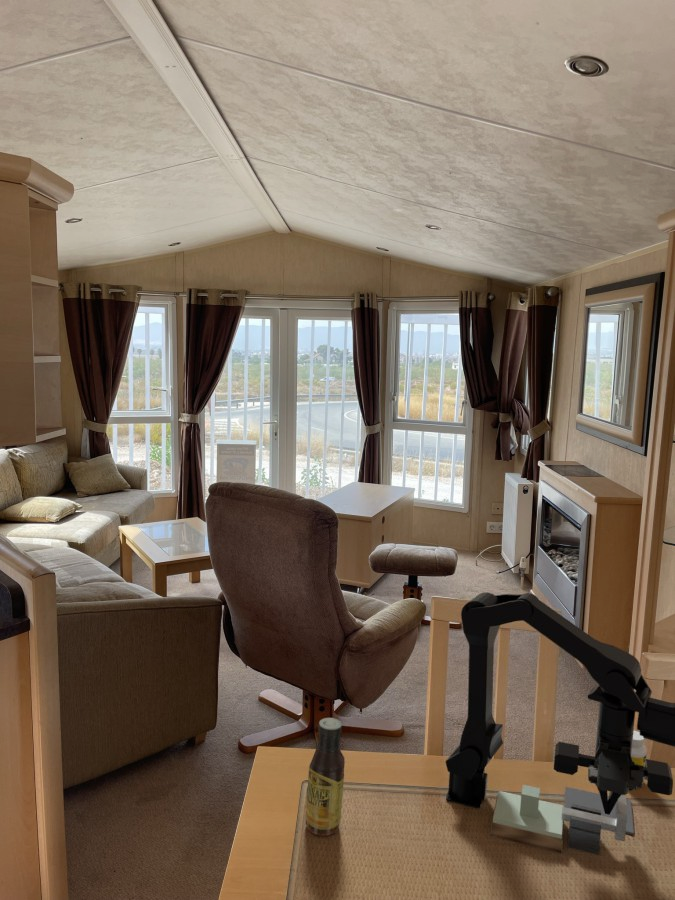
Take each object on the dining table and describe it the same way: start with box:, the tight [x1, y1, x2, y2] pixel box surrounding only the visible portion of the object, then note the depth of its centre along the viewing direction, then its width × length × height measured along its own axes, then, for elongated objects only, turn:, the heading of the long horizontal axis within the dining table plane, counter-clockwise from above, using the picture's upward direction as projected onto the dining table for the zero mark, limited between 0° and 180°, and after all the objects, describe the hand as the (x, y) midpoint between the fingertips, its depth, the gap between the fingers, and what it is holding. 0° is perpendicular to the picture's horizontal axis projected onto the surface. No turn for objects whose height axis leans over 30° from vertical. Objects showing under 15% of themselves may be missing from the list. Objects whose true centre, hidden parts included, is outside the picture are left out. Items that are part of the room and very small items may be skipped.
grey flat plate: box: [563, 786, 635, 836], centre depth 138 cm, size 12×10×1 cm
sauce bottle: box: [304, 717, 346, 837], centre depth 128 cm, size 6×6×20 cm
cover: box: [492, 784, 564, 839], centre depth 131 cm, size 12×9×5 cm
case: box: [490, 794, 565, 854], centre depth 132 cm, size 12×9×2 cm
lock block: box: [567, 804, 602, 856], centre depth 128 cm, size 5×5×5 cm
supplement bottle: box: [631, 730, 648, 785], centre depth 147 cm, size 5×5×10 cm
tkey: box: [561, 794, 627, 842], centre depth 127 cm, size 10×6×5 cm, turn 71°
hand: (607, 813), depth 127 cm, fingers closed
